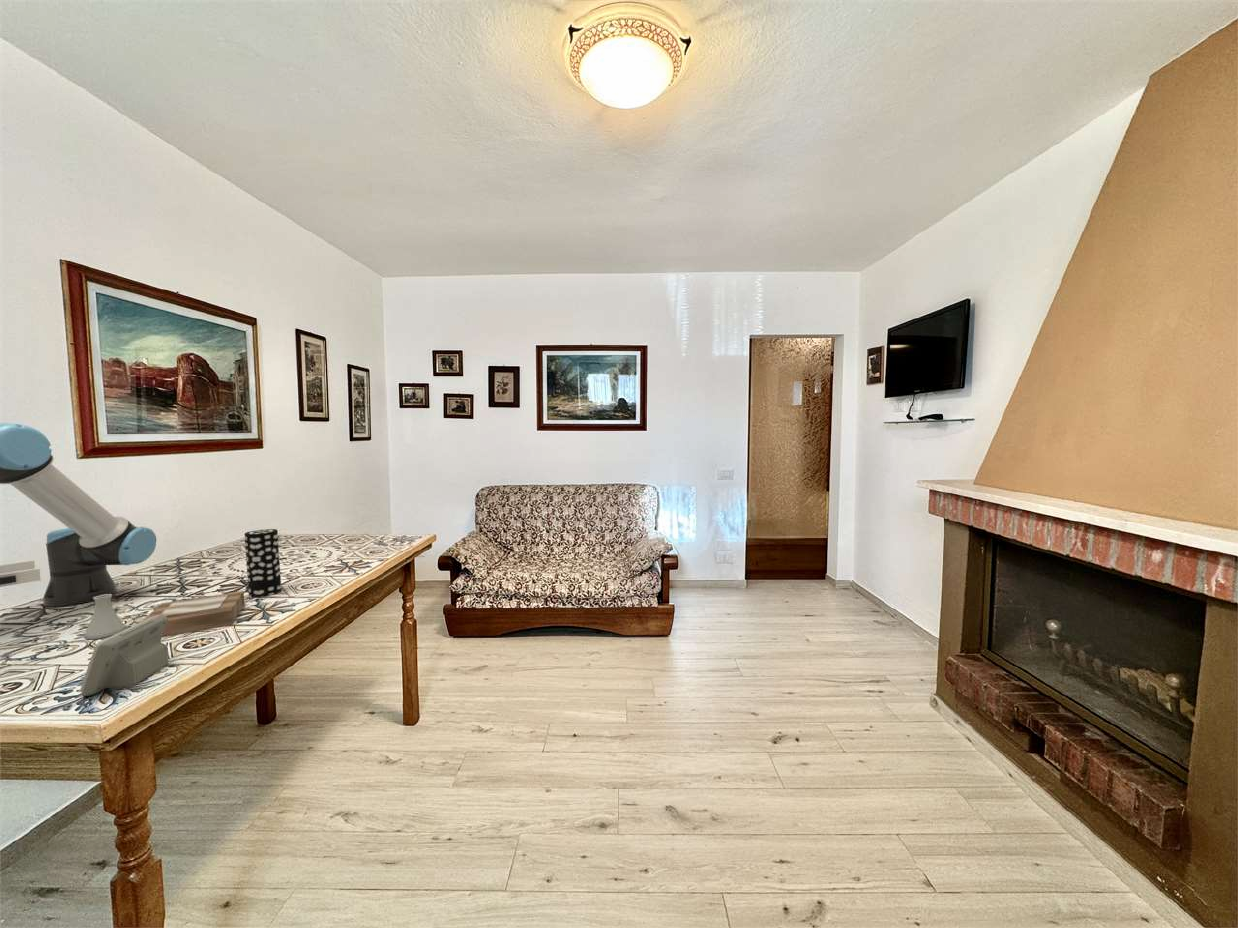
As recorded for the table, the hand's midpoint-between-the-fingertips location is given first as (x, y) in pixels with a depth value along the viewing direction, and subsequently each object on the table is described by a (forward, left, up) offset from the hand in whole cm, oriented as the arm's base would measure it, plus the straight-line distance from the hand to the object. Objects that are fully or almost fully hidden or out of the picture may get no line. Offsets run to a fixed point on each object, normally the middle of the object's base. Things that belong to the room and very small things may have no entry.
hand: (37, 569), depth 109 cm
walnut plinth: (-2, +27, -19) cm, 33 cm away
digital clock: (+30, +23, -20) cm, 42 cm away
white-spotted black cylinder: (-20, +40, -19) cm, 49 cm away
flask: (-4, +9, -20) cm, 22 cm away
